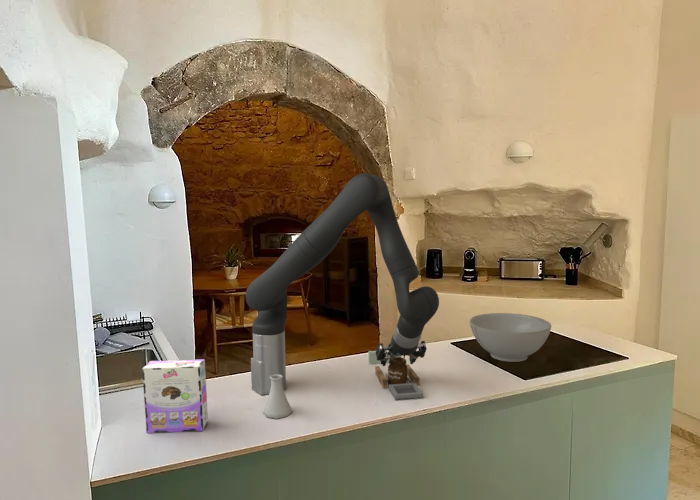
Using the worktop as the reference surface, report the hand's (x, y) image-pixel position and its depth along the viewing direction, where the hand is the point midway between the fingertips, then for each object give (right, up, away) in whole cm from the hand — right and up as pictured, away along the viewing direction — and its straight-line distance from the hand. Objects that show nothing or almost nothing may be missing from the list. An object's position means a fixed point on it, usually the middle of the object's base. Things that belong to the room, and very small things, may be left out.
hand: (397, 362), depth 153 cm
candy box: (-57, -10, -28) cm, 64 cm away
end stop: (-3, -4, +17) cm, 18 cm away
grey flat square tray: (+2, -7, -9) cm, 12 cm away
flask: (-33, -9, -21) cm, 40 cm away
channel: (0, -6, +1) cm, 6 cm away
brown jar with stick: (0, -6, 0) cm, 6 cm away
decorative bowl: (+41, -3, +22) cm, 47 cm away
